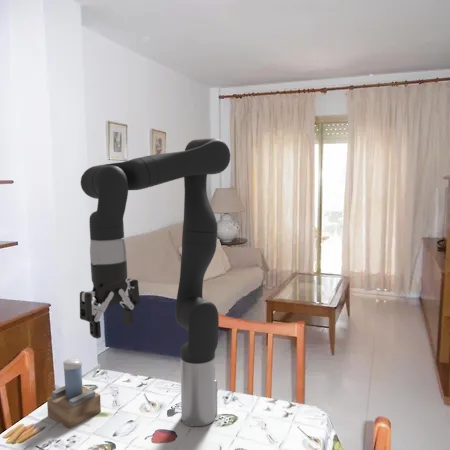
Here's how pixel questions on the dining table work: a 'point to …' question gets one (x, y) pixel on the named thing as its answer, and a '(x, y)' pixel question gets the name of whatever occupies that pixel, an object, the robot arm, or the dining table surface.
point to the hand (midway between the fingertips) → (112, 331)
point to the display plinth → (70, 412)
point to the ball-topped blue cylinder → (73, 377)
